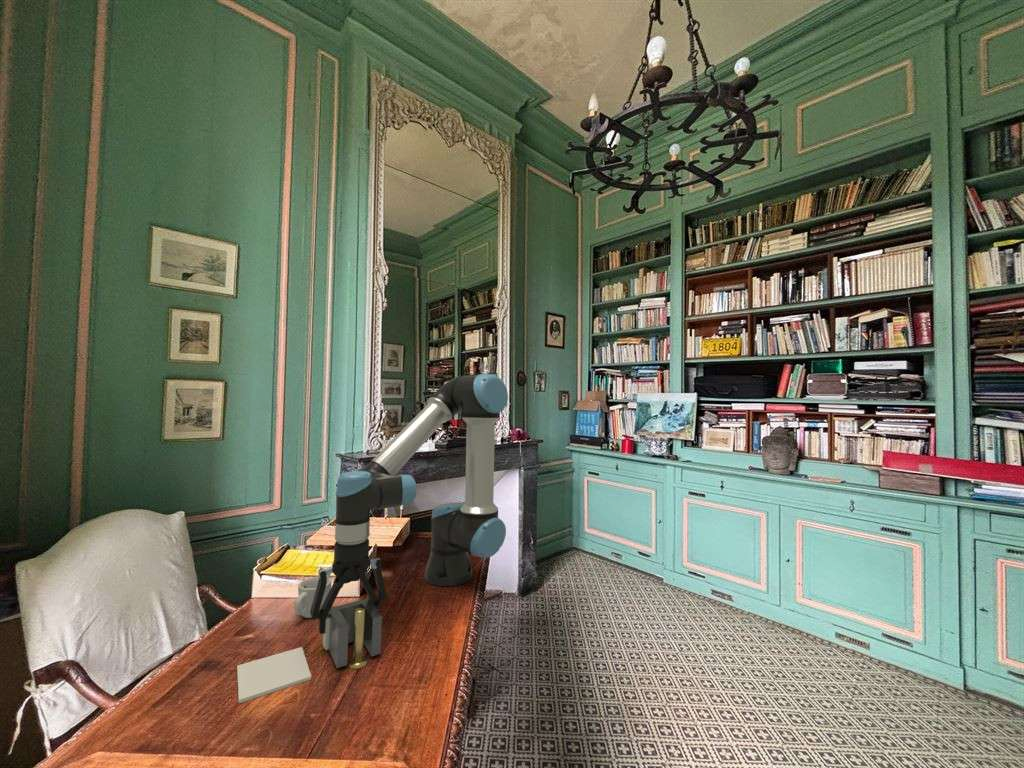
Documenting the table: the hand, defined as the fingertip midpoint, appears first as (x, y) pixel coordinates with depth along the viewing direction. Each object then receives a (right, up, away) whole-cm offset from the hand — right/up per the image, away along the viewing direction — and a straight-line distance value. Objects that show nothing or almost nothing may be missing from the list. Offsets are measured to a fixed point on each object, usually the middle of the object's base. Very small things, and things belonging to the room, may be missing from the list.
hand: (348, 639), depth 94 cm
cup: (-15, -2, +12) cm, 19 cm away
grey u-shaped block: (+2, 0, -3) cm, 4 cm away
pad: (-11, 0, -11) cm, 15 cm away
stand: (+5, 0, -7) cm, 9 cm away
